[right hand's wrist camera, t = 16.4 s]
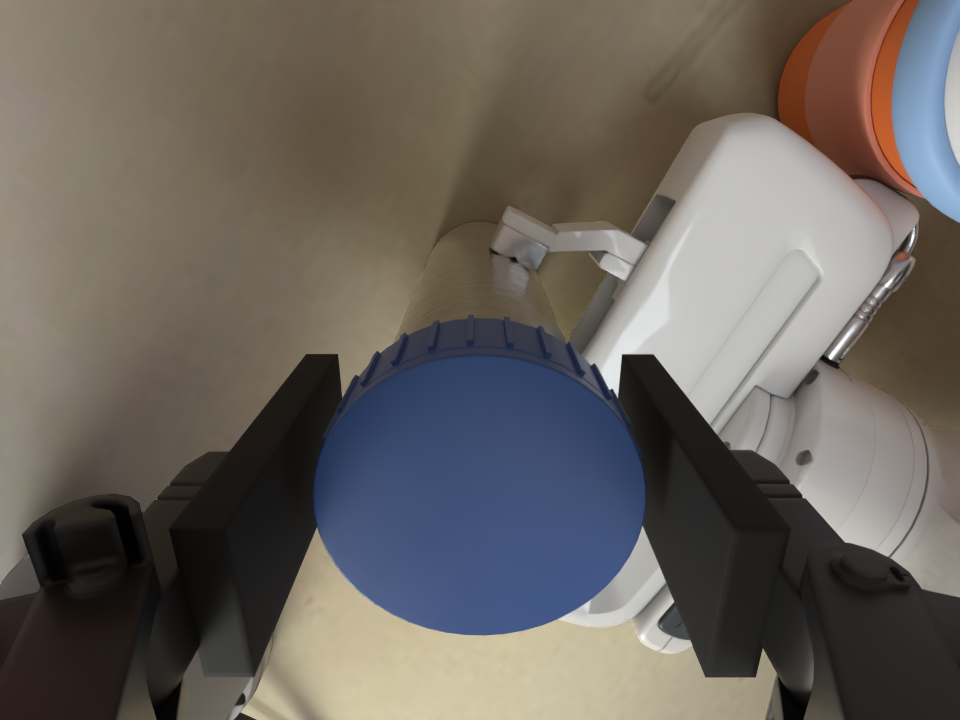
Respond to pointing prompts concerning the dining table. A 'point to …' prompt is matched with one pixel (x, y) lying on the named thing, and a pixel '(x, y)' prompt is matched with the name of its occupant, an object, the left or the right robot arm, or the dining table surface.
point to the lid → (479, 479)
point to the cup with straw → (883, 94)
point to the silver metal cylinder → (476, 285)
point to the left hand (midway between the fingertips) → (457, 306)
